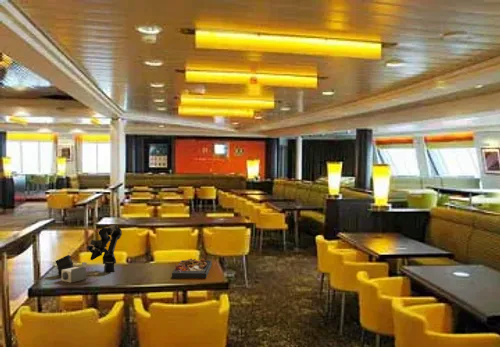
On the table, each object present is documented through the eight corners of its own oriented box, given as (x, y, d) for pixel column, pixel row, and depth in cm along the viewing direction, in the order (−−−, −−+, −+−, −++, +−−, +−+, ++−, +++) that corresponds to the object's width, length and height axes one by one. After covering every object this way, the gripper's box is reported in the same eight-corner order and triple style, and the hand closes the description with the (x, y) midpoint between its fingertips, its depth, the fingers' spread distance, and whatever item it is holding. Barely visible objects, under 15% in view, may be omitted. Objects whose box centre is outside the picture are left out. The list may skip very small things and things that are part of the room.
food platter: (206, 279, 356) (206, 265, 356) (171, 279, 356) (171, 264, 356) (211, 266, 401) (211, 253, 401) (181, 266, 401) (181, 253, 401)
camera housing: (76, 277, 359) (76, 266, 358) (85, 279, 353) (85, 268, 353) (60, 280, 348) (59, 270, 347) (69, 282, 342) (69, 272, 342)
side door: (83, 278, 353) (83, 262, 353) (86, 279, 351) (86, 262, 351) (70, 281, 344) (70, 264, 343) (73, 282, 342) (73, 265, 342)
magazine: (75, 274, 361) (67, 255, 361) (60, 281, 363) (52, 262, 364) (78, 273, 364) (70, 254, 365) (63, 280, 367) (55, 261, 368)
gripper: (88, 234, 365) (76, 251, 356) (105, 236, 355) (93, 254, 346) (97, 243, 372) (85, 260, 363) (114, 246, 361) (102, 263, 353)
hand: (91, 259), depth 356 cm, fingers closed
